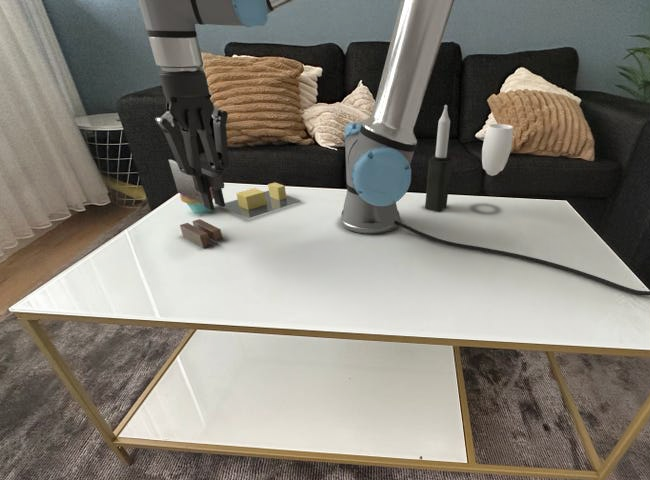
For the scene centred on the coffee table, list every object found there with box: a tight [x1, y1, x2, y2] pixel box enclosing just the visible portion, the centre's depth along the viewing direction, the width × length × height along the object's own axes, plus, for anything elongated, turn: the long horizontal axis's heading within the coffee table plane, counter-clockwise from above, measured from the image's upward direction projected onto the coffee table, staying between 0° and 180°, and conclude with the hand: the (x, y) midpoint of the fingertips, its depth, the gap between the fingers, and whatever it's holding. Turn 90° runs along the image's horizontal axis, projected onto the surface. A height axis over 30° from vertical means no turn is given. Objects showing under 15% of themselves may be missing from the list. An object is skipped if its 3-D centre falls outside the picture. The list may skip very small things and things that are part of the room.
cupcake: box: [179, 187, 214, 214], centre depth 106 cm, size 9×8×12 cm
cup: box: [481, 123, 514, 177], centre depth 108 cm, size 7×7×21 cm
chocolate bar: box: [179, 218, 223, 249], centre depth 95 cm, size 9×5×3 cm, turn 49°
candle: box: [424, 104, 453, 212], centre depth 107 cm, size 5×5×25 cm
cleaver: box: [168, 159, 225, 205], centre depth 86 cm, size 19×2×8 cm, turn 49°
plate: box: [222, 190, 302, 219], centre depth 114 cm, size 14×18×1 cm
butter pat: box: [267, 182, 287, 200], centre depth 116 cm, size 4×2×4 cm, turn 49°
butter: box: [235, 187, 267, 210], centre depth 111 cm, size 4×6×4 cm
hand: (214, 206), depth 85 cm, fingers closed on cleaver, 2 cm apart
